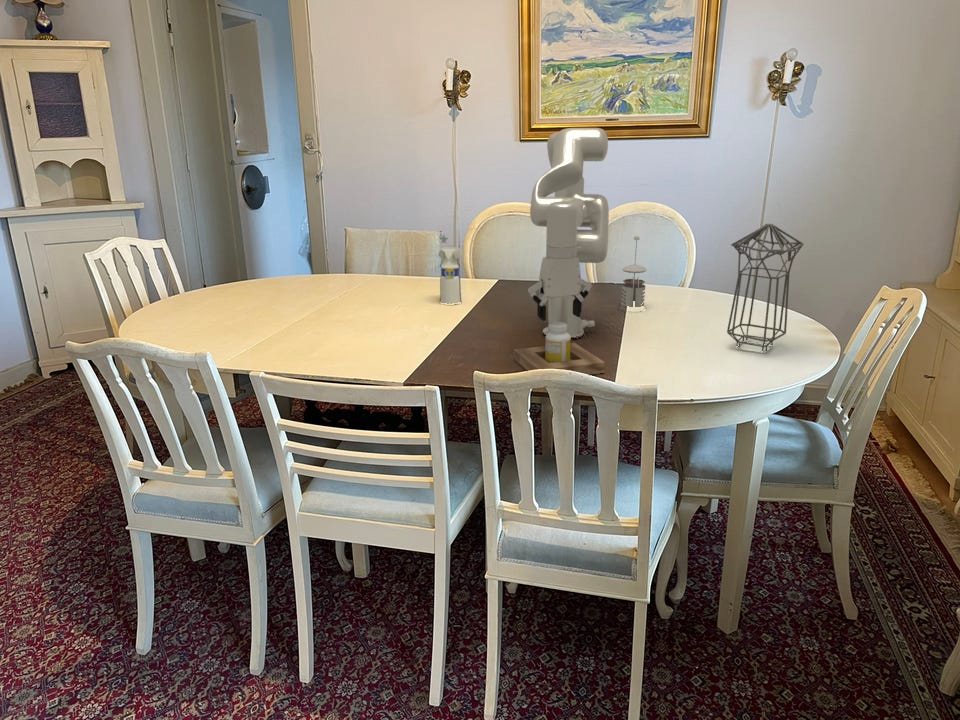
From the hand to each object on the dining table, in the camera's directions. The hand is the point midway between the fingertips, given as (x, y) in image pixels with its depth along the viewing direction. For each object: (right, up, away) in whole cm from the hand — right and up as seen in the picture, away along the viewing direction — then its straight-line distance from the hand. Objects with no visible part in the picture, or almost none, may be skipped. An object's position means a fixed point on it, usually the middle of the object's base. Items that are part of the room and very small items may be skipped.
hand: (559, 317), depth 186 cm
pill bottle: (0, -13, +4) cm, 13 cm away
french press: (+32, +6, +61) cm, 69 cm away
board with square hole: (0, -13, +4) cm, 13 cm away
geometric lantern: (+57, -8, +17) cm, 60 cm away
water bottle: (-31, +9, +71) cm, 78 cm away
